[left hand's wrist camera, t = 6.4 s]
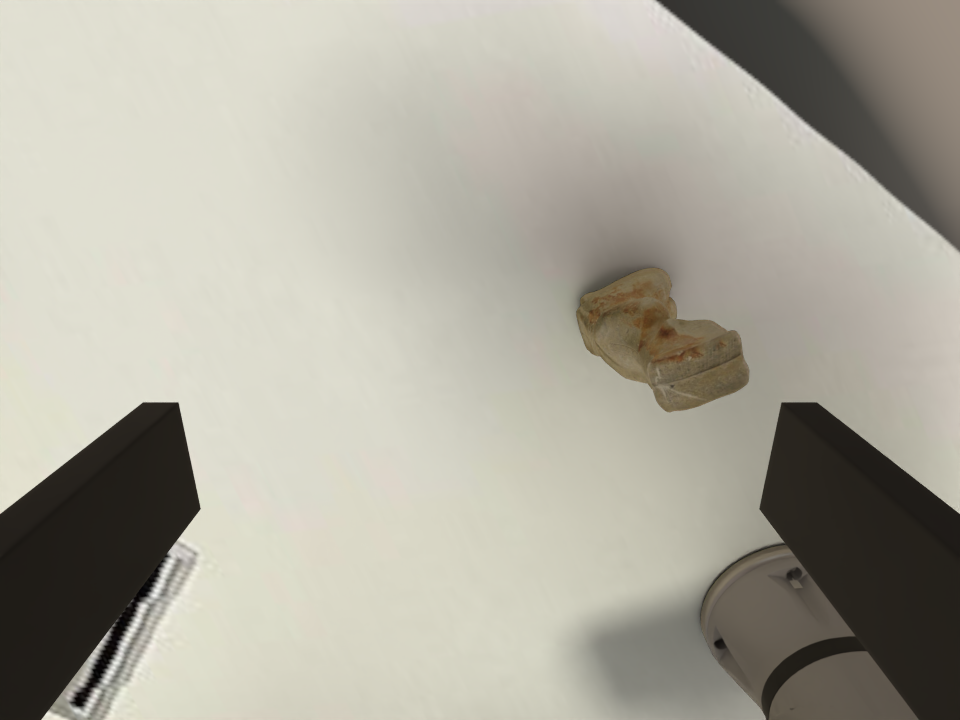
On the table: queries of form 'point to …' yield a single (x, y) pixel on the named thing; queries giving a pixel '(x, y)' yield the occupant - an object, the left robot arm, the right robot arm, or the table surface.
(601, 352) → the sculpture
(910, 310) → the table surface
